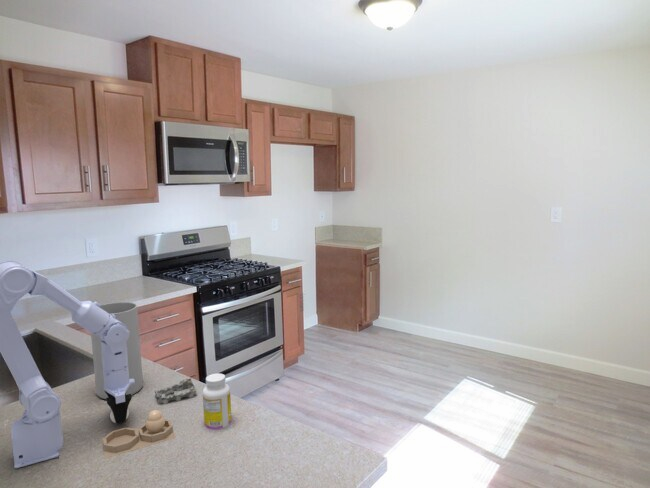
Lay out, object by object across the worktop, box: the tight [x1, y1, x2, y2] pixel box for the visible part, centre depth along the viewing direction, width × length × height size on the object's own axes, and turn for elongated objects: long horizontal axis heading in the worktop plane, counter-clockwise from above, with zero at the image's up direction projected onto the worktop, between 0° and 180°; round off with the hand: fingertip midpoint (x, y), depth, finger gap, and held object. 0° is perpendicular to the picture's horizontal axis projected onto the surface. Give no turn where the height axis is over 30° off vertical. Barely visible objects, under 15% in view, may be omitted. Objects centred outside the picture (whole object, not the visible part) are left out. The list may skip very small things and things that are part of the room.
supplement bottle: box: [202, 373, 233, 430], centre depth 109 cm, size 7×7×13 cm
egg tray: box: [101, 418, 177, 459], centre depth 104 cm, size 15×9×2 cm, turn 120°
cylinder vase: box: [90, 301, 144, 400], centre depth 128 cm, size 12×12×25 cm
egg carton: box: [154, 377, 197, 405], centre depth 124 cm, size 11×8×4 cm
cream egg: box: [109, 409, 130, 424], centre depth 111 cm, size 4×4×6 cm
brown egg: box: [144, 409, 166, 435], centre depth 105 cm, size 4×4×6 cm
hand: (119, 417), depth 111 cm, fingers closed on cream egg, 4 cm apart
